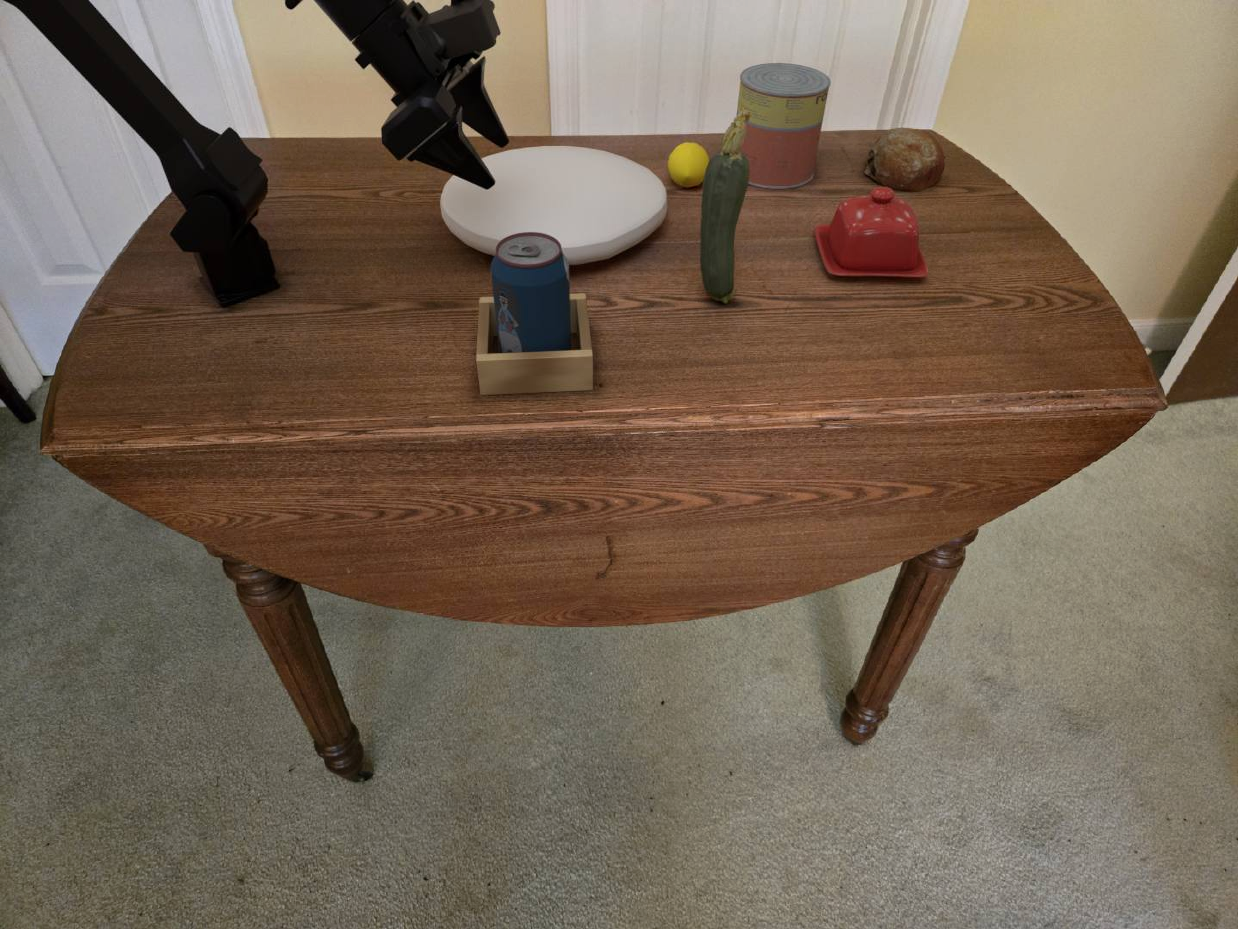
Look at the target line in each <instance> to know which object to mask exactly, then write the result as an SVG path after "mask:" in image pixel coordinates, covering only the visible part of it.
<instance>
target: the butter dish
mask: <svg viewBox="0 0 1238 929" xmlns="http://www.w3.org/2000/svg"><path fill="white" fill-rule="evenodd" d="M895 196H896V192H895V190H894V189H890V188H888V187H885V186H877V187H875V188H873V189H872V190H871V191H870V195H862V196H854V197H850V198H847V199H844V200H843V201H841V202H839V204H838V206H837V208H836V210H835V212H834V215H833V217H832V220H831V223H827V224H826V223H825V224H818V225H816V226H814V228H813V231H814V236H815V239H816V242H817V246H818V249H819V253H820V257H821V259H822V262H823V265H824V267H825V269H826V271H827V272H828V273H829V274H830V275H832V276H836V277H884V278H887V277H888V278H890V277H892V278H925V277H927V276H928V275H929V269H928V268H929V267H928V265H927V263H926V260H925V257H924V255H923V252H922V251H921V248H920V245H919V244H920V243H919V242H920V228H919V224H918V220H917V217H916V215H915V213H914V210H913V208H912V207H911V206H910V205H909V204H908V203H907V202H906V201H905V200H903V199H901V198H898V197H895Z"/></svg>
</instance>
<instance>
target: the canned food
mask: <svg viewBox="0 0 1238 929" xmlns="http://www.w3.org/2000/svg"><path fill="white" fill-rule="evenodd" d="M739 79H740V80H739V81H740V82H739V90H738V99H737V108H736V116H737V115H738V114H739V112H741V111H742V108H743V107H746V109H747V110H749V111H750V113H751V114H750V115H751V116H750V119H749V121H747V124H746V134H745V139H744V143H743V145H742V147H740V149H739V151H740V152H741V153H743V154H744V156H745V157H746V158H747V160H748V163H749V169H750V172H749V182H748V185H749V186H753V187H757V188H762V189H767V190H769V189H770V190H789V189H795V188H798V187H802V186H804V185H806V184H808V183H809V182H810V181H811V180H813V178H814V174H815V172H814V170H815V164H816V160H817V154H818V149H819V143H820V137H821V132H822V127H823V123H824V122H823V121H824V116H825V111H826V105H827V100H828V95H829V89H830V87H831V83H832V82H831V79H830V77H829V76H828V75H827V74H826V73H824V72H822V71H821V70H818V69H816V68H813V67H810V66H805V65H802V64H795V63H786V62H785V63H784V62H767V63H760V64H756V65H751V66H749V67H747V68H745V69H743V70H742V71H741V72H740V75H739Z"/></svg>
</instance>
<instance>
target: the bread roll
mask: <svg viewBox="0 0 1238 929" xmlns="http://www.w3.org/2000/svg"><path fill="white" fill-rule="evenodd" d="M945 159H946V156H945V154H944V151H943V149H942V146H941V144H940V142H939V141H938V139H937V138H936V137H935V136H934V135H933V134H931V133H929V132H927V131H926V130H924V129H919V128H913V127H902V126H901V127H896V128H890V129H888V130H887V131H885V132H883V133H882V134H880V135H879V137H878V138H877V139H876V140H875V141H874V143H873V144H872V145H871V147H870V149H869V151H868V153H867V158H866V163H865V166H866V168H865V170H864V175H866V176H868V177H869V178H870V179H872V180H874V182H876V183H879V184H881V185H883V187H888V188H890V189H892V190H893V191H905V192H918V191H921V190H924V189H927V188H930V187H932V186H934V185H935V184H936V183H937V182H938V181H939V180H940V179H941V177H942V174H943V172H944V170H945Z"/></svg>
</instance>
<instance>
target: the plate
mask: <svg viewBox="0 0 1238 929" xmlns="http://www.w3.org/2000/svg"><path fill="white" fill-rule="evenodd" d="M481 159H482V161H483V162H484V163H485V165H486V166H487V168H488V170H489V171H490V173H491V174H492V176H493V178H494V179H495V185H494V186H492V187H491V188H490V189H488V190H486V189H484V188H481V187H479V186H477V185H475V184H472V183H470V182H468V181H466V180H463V179H461V178H459V177H457V176H454V175H452V176H451V177H450V178H449V179H448V180H447V182H446V183H445V184H444V186H443V189H442V193H441V195H440V201H439V202H440V203H439V206H440V212H441V213H440V214H441V219H442V220H443V222H444V224H445V225H446V227H447V228H448V230H449V231H450V232H451V233H452V234H453V235H454V236H455V237H456V238H457V239H459V241H461V242H462V243H463V244H465V245H466V246H468V247H471V248H472V249H475V250H477V251H479V252H480V253H483V254H487V255H490V256H493V257H494V256H495V254H496V246H497V244H498V243H499V242H500V241H501V240H502V239H504V238H506V237H508V236H510V235H513V234H517V233H524V232H538V233H544V234H547V235H550V236H552V237H554V238H555V239H557V240H558V241H559V243H560V244H561V247H562V252H563V254H564V255H565V257H566V259H567V260H568V263H569V266H577V265H583V264H589V263H593V262H598V261H604V260H609V259H611V258H612V257H614V256H617V255H619V254H620V253H623V252H625V251H626V250H628V249H630V248H632V247H634V246H636V245H637V244H639V243H641V242H642V241H643V240H645V239H647V238H648V237H649V236H650V235H652V234H653V233H654V232H655V231H656V230H657V229H659V227H660V226H661V225H662V224H663V222H664V220H665V218H666V215H667V213H668V194H667V188H666V186H665V185H664V183H663V181H662V180H661V179H660V178H659V177H658V176H657V175H656V174H655V173H654V172H652V171H651V169H649V168H648V167H645V166H643V165H642V164H639V163H637V162H635V161H633V160H631V159H629V158H627V157H625V156H622V155H619V154H616V153H613V152H609V151H606V150H601V149H597V148H591V147H584V146H583V147H582V146H572V145H542V146H529V147H528V146H527V147H520V148H514V149H508V150H504V151H501V152H498V153H493V154H490V155H487V156H485V157H482V158H481Z"/></svg>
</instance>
